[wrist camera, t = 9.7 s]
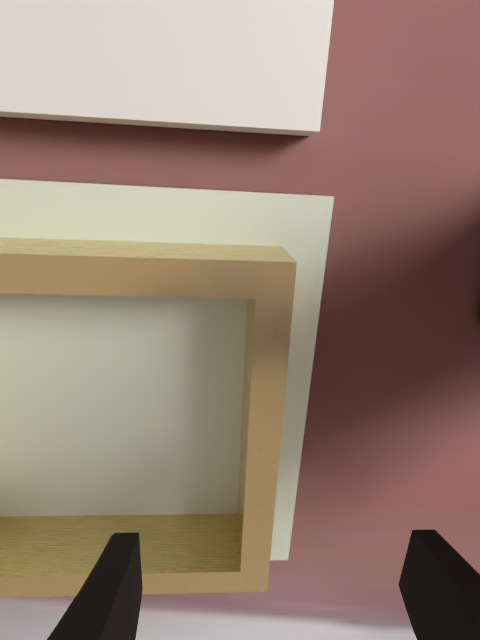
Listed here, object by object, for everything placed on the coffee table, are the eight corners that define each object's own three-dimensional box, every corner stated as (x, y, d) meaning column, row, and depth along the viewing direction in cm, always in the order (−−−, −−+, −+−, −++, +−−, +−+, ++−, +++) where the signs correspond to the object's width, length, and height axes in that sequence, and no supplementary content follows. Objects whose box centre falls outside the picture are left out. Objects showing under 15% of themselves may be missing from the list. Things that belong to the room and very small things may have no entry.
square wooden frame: (281, 246, 15) (296, 261, 12) (260, 531, 20) (267, 591, 17) (-117, 233, 14) (-202, 247, 11) (-37, 536, 19) (-83, 600, 16)
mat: (329, 196, 15) (334, 196, 14) (286, 549, 21) (288, 560, 20) (-180, 168, 14) (-198, 168, 13) (-69, 553, 20) (-78, 564, 19)
